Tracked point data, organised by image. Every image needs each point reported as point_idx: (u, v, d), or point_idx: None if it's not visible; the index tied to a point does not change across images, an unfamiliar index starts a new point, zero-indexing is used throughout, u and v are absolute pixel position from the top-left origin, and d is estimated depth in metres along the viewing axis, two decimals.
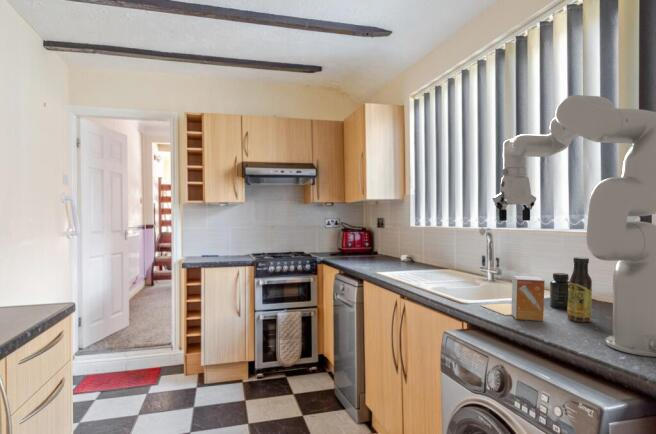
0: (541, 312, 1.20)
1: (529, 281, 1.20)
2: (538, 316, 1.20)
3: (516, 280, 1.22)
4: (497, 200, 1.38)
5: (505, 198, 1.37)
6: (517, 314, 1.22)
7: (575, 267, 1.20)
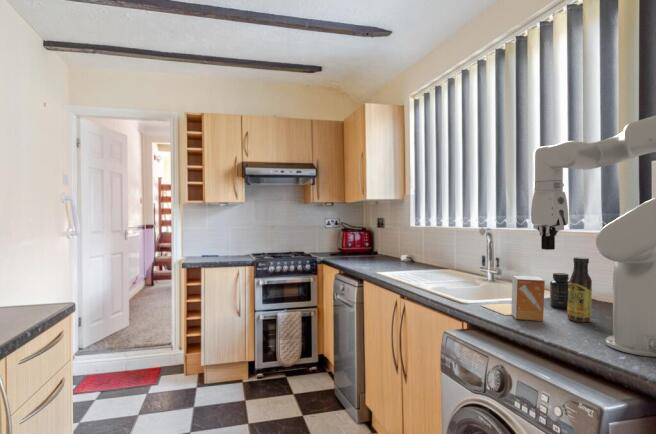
0: (541, 312, 1.20)
1: (529, 281, 1.21)
2: (538, 316, 1.20)
3: (516, 280, 1.22)
4: None
5: (566, 218, 1.10)
6: (517, 314, 1.22)
7: (575, 267, 1.20)
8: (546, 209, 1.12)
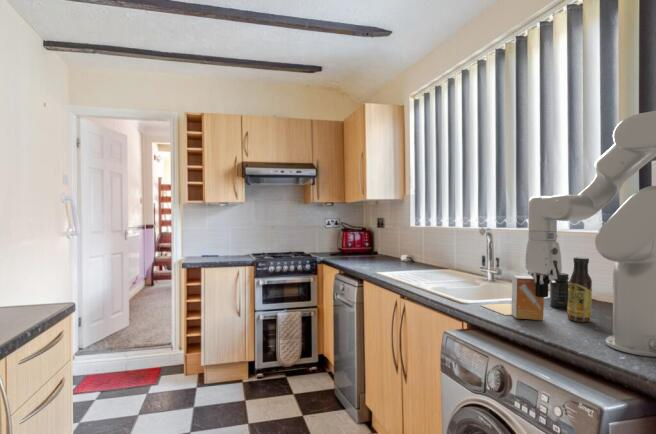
0: (541, 311, 1.20)
1: (529, 280, 1.21)
2: (538, 315, 1.21)
3: (516, 279, 1.23)
4: None
5: (559, 268, 1.13)
6: (517, 313, 1.22)
7: (575, 267, 1.20)
8: (540, 258, 1.15)
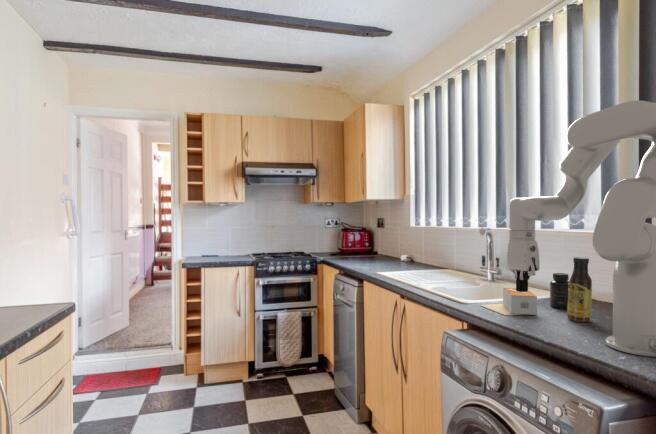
0: (532, 294, 1.29)
1: (513, 288, 1.39)
2: (531, 295, 1.28)
3: (503, 290, 1.40)
4: None
5: (537, 265, 1.21)
6: (511, 294, 1.30)
7: (575, 267, 1.20)
8: (520, 256, 1.24)
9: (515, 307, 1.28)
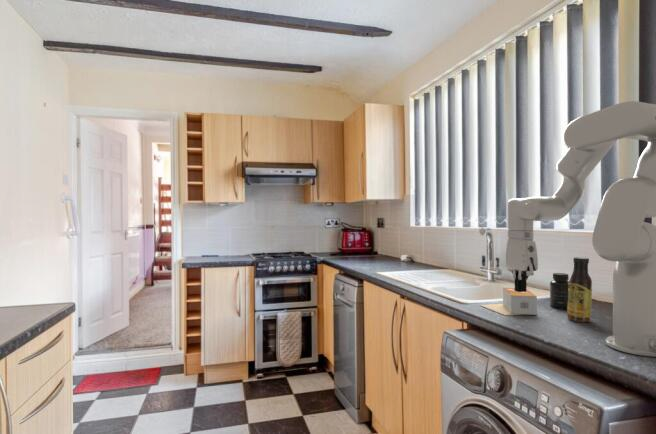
0: (532, 294, 1.29)
1: (513, 288, 1.39)
2: (530, 295, 1.28)
3: (503, 291, 1.40)
4: None
5: (536, 265, 1.22)
6: (511, 294, 1.30)
7: (575, 267, 1.20)
8: (518, 256, 1.24)
9: (515, 308, 1.28)
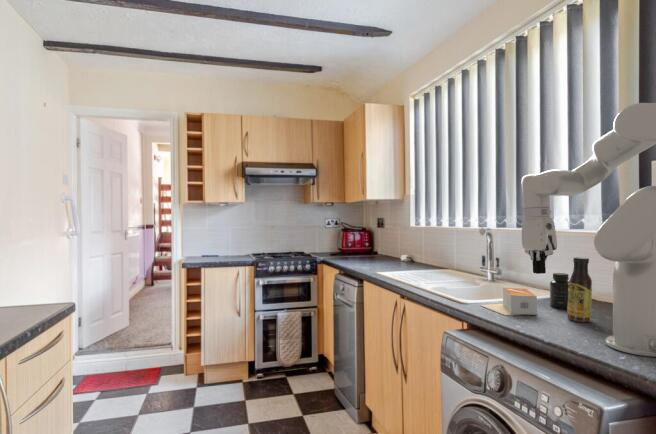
0: (532, 294, 1.29)
1: (513, 288, 1.39)
2: (530, 295, 1.28)
3: (503, 291, 1.40)
4: None
5: (555, 243, 1.15)
6: (511, 294, 1.30)
7: (575, 267, 1.20)
8: (535, 235, 1.17)
9: (515, 308, 1.28)
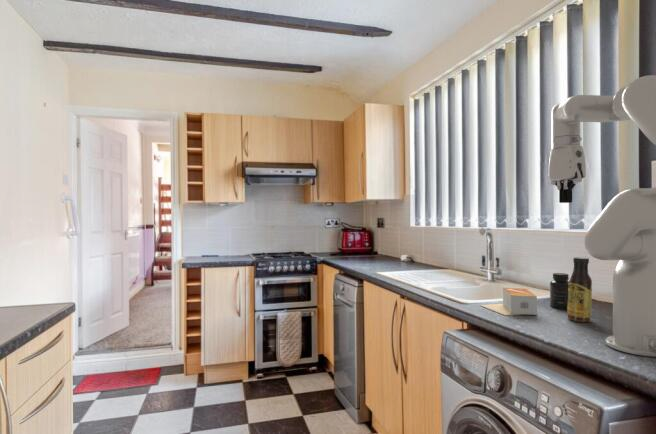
0: (532, 294, 1.29)
1: (513, 288, 1.39)
2: (530, 295, 1.28)
3: (503, 291, 1.40)
4: None
5: (584, 171, 1.15)
6: (511, 294, 1.30)
7: (575, 267, 1.20)
8: (564, 163, 1.17)
9: (515, 308, 1.28)
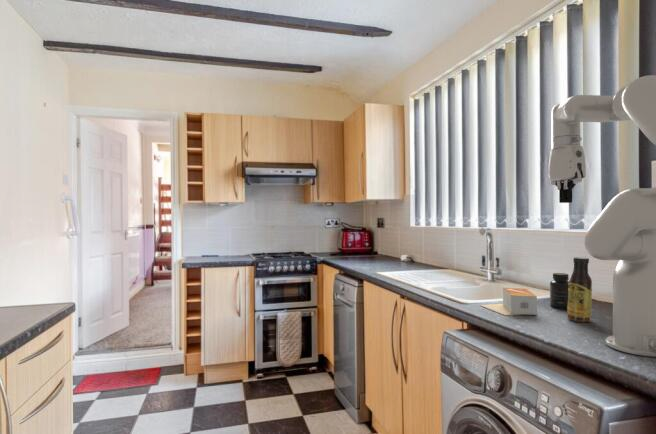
0: (532, 294, 1.29)
1: (513, 288, 1.39)
2: (530, 295, 1.28)
3: (503, 291, 1.40)
4: None
5: (584, 171, 1.15)
6: (511, 294, 1.30)
7: (575, 267, 1.20)
8: (564, 163, 1.17)
9: (515, 308, 1.28)
